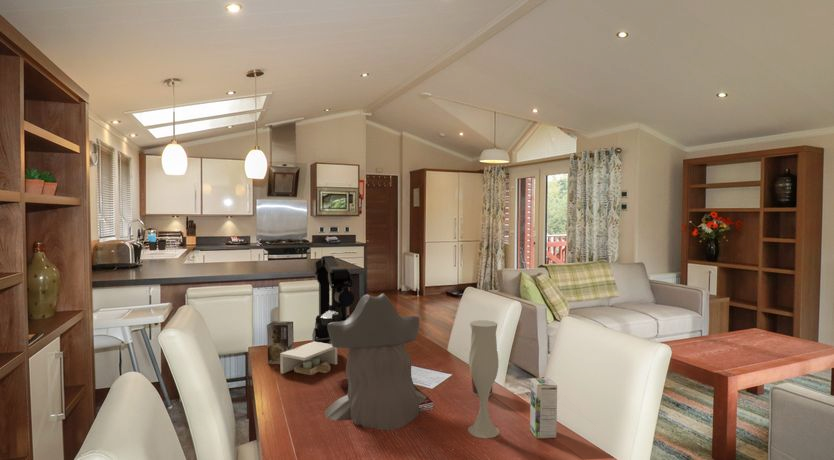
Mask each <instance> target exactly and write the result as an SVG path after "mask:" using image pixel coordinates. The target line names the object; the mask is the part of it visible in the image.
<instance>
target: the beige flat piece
mask: <svg viewBox="0 0 834 460" xmlns="http://www.w3.org/2000/svg"><path fill="white" fill-rule="evenodd" d="M293 371H294V373H298V374H304V375H309V376H313V375H315V374H317V373H318V372H319V373H323V374H326V373H328V372H331V364H329V361H322V360H320V365H318V366H316V367H314V368H312V369H308V368H303V364H300V365H298V366H296V367H294V369H293Z"/></svg>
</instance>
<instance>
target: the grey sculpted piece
mask: <svg viewBox="0 0 834 460" xmlns="http://www.w3.org/2000/svg"><path fill="white" fill-rule="evenodd" d="M357 302H358V303H357V304H356V306H355V309H354V310H353V311H352V313H351V314H350V315H349V318H347V319H346V320H345V321H342V322H331V323H329V324H328V325H327V328H328V332H329V336H330V339H331V344H332V346H333V347H335V348H337V349H338V348H339V349H347V350H348V355H347V361H346V365H345V376H346V379H347V383H348V387H347V392H346V394H345V395H344V396H342V397H341V396H340V398H338V399H336V400H335V401H333V402H332V403H331V404H330V405H329V406H328V407H327V408H326V409H325V410H324V411H323V414H324V415H325V418H326V419H327V420H328V419H329V420H333V421H342V420H349V419H351V421H352V422H353V423H354V425H355V426H356V425H357V426H362V428H368V429H378V430H382V431H383V430H385V431H391V430H399V429H401V428H403V427H405V426H406V425H407V424H409V423H410V422H411V421H415V420H416V418H417V417H419V414H420V411H419V410H420V409H419V404H420V403H422V402H423V401H424V400H425V399H426V397H427V396H426V395H424V394H423V393H422V392H420V391H419V390H416V387H415V384H414V381H413V377H412V359H411V358H412V357H411V356H410V354H409V353H408V351H407V350H406V347H405V344H408V343H412V342H414V341H417V339H418V335H419V328H420V317H419V316H416V315H409V316H402V315H400V314H399V313H398V311H397V310H396V308H395V306H394V305H393V303H392V302H391V300H390V299H389V298H388V296H387V295H386V294H385V293H384V292H383V293H380V294H379V295H377V296H373V295H370V294H363V295H362V296H361V298H360V299H359V301H357Z"/></svg>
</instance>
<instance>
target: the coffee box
mask: <svg viewBox="0 0 834 460" xmlns="http://www.w3.org/2000/svg"><path fill="white" fill-rule="evenodd" d="M266 336H267V337H266V338H267V339H266V341H267V344H266V346H267V364H270V365H280V353H283V352H285V351H288V350H291V349H294V348H295V347H294V346H295V345H294V343H295V342H294V340H295V339H294V321H281V320H280V321H275V320H273V321H271V322H270V323H268V324H266Z"/></svg>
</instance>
